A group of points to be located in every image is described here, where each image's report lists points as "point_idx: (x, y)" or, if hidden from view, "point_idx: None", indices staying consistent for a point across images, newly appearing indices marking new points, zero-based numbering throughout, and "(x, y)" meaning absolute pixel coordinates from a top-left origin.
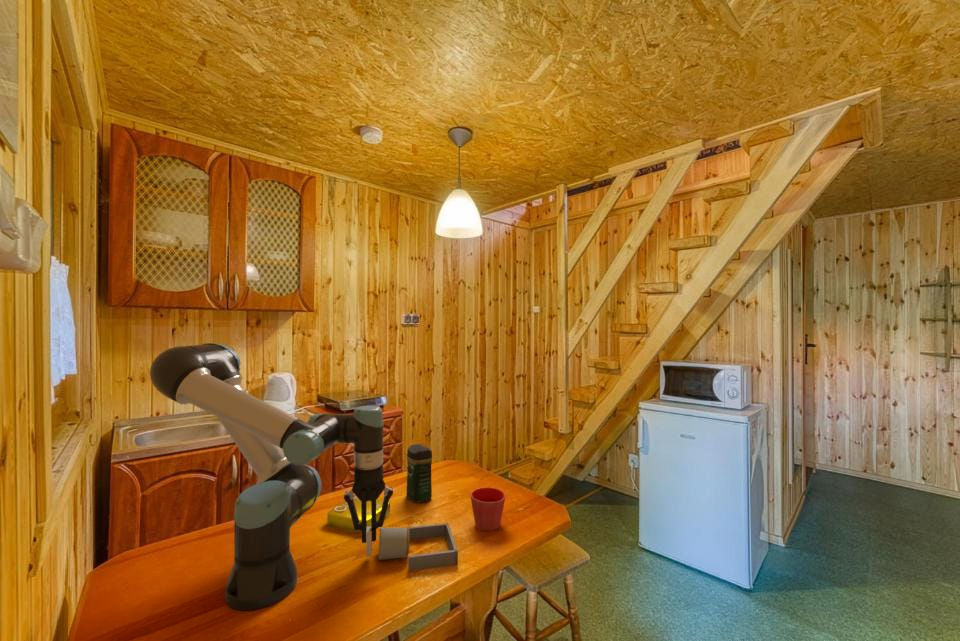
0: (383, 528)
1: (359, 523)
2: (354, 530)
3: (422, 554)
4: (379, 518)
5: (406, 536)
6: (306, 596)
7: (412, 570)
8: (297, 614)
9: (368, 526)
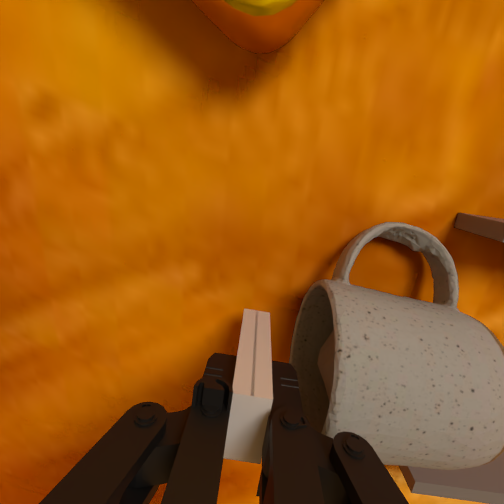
0: (355, 417)
1: (158, 463)
2: (202, 7)
3: (479, 493)
4: (347, 485)
5: (470, 467)
6: (32, 440)
7: None
8: (22, 499)
9: (291, 25)
